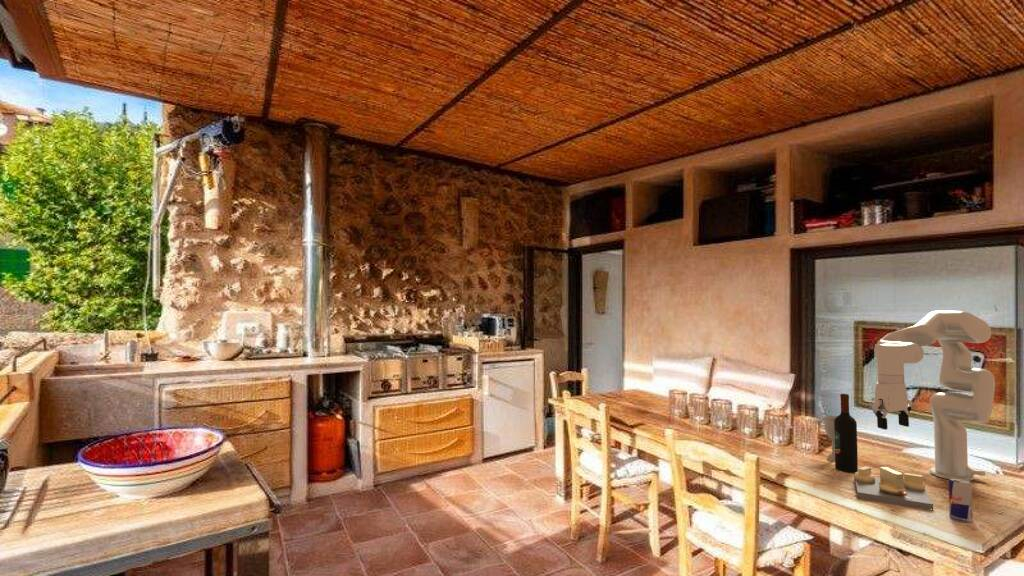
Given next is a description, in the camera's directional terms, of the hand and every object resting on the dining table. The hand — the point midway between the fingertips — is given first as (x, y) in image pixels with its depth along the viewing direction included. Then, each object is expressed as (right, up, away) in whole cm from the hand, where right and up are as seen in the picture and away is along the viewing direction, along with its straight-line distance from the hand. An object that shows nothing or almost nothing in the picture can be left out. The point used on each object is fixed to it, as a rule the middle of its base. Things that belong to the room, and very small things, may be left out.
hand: (893, 427), depth 177 cm
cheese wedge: (-5, -20, -7) cm, 22 cm away
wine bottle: (-2, -23, +22) cm, 32 cm away
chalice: (+1, -24, +34) cm, 42 cm away
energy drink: (+3, -22, -23) cm, 32 cm away
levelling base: (-3, -23, -3) cm, 23 cm away
